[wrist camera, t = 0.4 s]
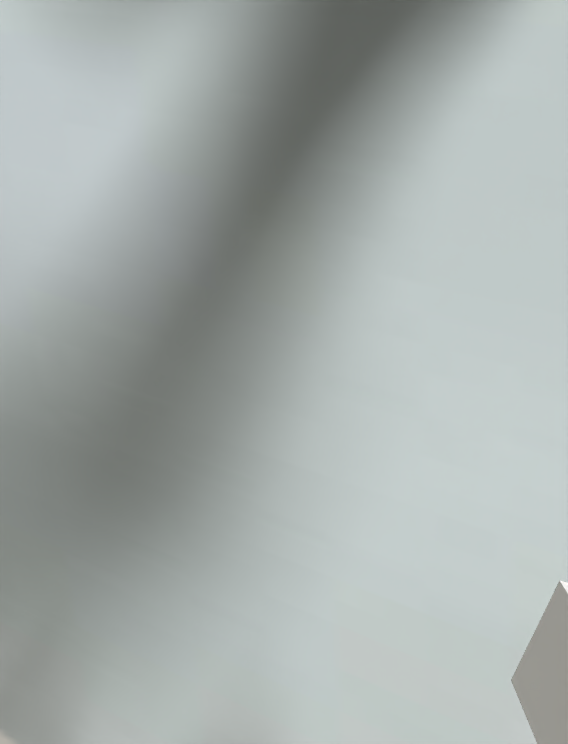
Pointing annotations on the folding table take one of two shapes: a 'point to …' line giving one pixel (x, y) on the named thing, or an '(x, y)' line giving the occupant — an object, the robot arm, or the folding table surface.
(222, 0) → the folding table surface
